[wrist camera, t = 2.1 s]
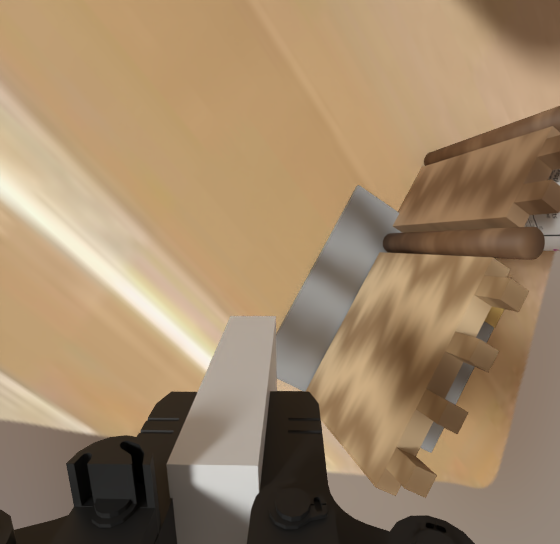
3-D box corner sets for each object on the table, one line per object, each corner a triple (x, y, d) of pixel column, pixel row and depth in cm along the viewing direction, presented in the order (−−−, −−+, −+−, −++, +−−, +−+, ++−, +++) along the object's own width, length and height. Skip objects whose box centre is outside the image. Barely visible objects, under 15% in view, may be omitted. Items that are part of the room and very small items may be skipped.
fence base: (392, 119, 37) (543, 33, 22) (539, 232, 43) (739, 226, 28) (257, 368, 36) (318, 463, 20) (428, 450, 41) (577, 574, 26)
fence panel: (379, 252, 37) (520, 258, 22) (391, 260, 38) (538, 271, 22) (302, 397, 36) (393, 509, 21) (316, 403, 37) (415, 518, 21)
